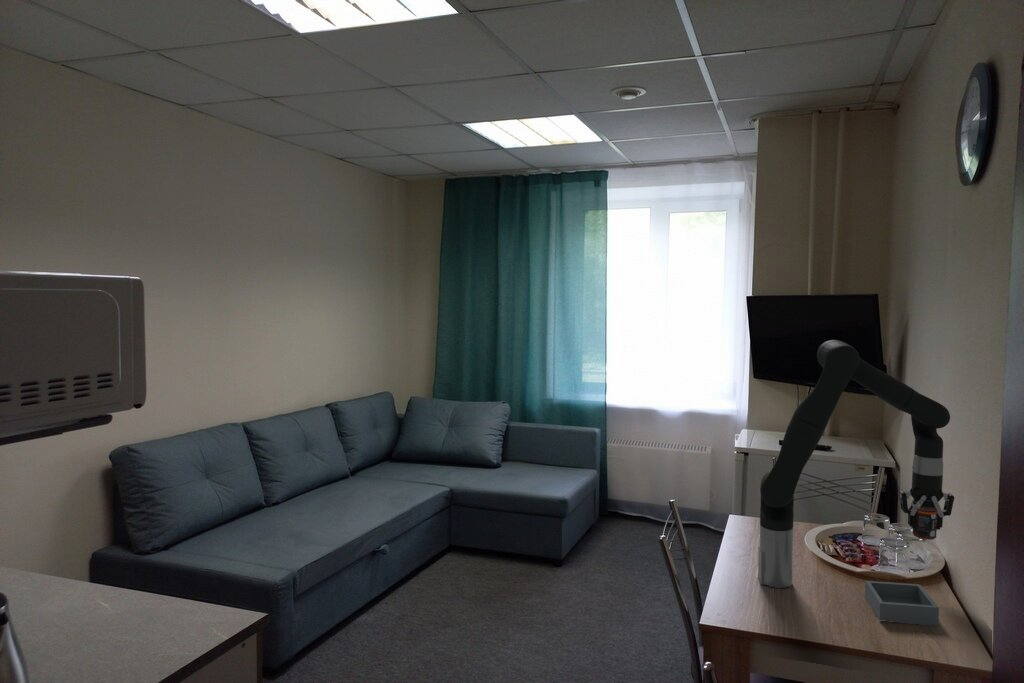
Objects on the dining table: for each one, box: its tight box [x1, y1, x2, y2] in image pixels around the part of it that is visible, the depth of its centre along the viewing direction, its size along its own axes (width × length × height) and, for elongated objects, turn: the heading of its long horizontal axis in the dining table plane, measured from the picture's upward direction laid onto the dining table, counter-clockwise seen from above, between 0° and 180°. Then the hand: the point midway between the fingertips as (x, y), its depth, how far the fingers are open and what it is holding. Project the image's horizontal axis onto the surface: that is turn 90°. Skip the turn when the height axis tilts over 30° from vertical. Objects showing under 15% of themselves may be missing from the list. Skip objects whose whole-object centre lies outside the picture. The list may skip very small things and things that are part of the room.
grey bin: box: [864, 580, 940, 627], centre depth 191 cm, size 14×14×5 cm
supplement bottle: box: [912, 500, 938, 541], centre depth 203 cm, size 6×6×11 cm
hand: (924, 527), depth 203 cm, fingers closed on supplement bottle, 6 cm apart
